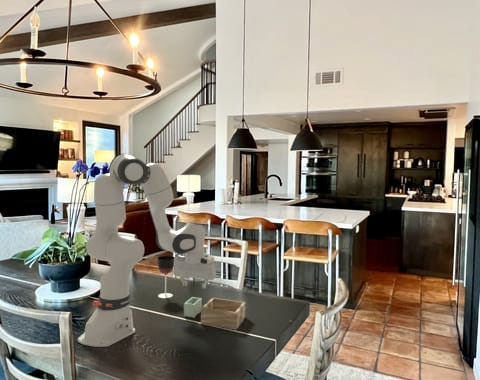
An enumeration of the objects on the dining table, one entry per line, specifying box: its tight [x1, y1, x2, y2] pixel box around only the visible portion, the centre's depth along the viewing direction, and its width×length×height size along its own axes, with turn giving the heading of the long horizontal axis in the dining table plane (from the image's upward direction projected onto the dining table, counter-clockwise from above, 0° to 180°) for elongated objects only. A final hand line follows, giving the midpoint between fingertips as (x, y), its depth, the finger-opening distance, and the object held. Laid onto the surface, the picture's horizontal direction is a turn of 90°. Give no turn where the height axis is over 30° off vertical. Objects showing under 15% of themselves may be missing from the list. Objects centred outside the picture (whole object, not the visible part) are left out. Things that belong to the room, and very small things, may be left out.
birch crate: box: [200, 297, 247, 330], centre depth 164 cm, size 14×16×7 cm
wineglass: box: [157, 255, 176, 299], centre depth 194 cm, size 8×9×20 cm
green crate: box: [183, 296, 203, 318], centre depth 172 cm, size 9×5×6 cm, turn 164°
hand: (194, 286), depth 171 cm, fingers open, 8 cm apart
